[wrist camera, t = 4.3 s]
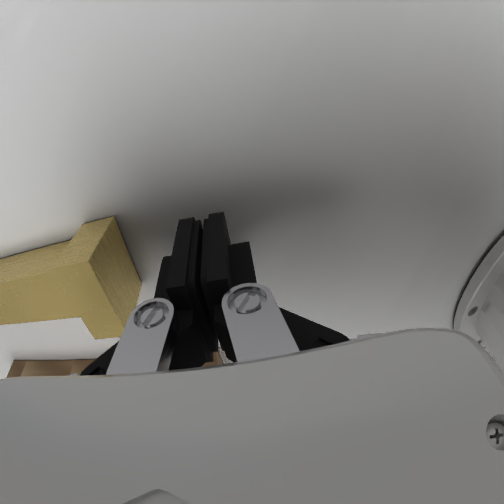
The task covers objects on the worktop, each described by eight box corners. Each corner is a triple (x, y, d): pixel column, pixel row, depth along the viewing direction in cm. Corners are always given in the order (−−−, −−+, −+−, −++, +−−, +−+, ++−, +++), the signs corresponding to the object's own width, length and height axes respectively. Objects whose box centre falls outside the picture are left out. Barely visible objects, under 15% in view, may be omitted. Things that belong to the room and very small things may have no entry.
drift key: (114, 216, 12) (88, 261, 9) (142, 284, 14) (128, 336, 11) (-40, 261, 12) (-67, 296, 9) (-12, 307, 14) (-33, 344, 11)
